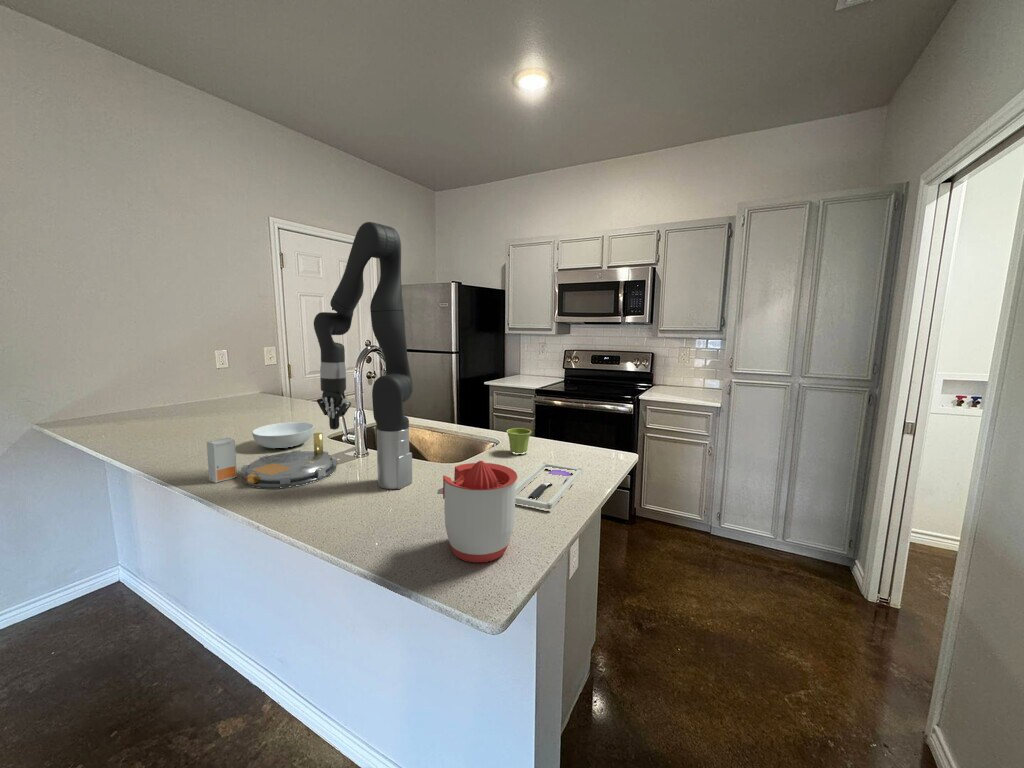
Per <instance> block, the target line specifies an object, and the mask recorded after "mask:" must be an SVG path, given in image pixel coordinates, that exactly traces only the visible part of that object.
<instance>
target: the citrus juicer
mask: <svg viewBox="0 0 1024 768" xmlns="http://www.w3.org/2000/svg"><path fill="white" fill-rule="evenodd" d="M453 474H454V475H453V476H454V480H452V477H450V476H448V475H447V476H446V475H445V474H444V475H443V476H442V481H443V482H442V483H443V484H442V485H443V486H442V487H441V488H439V489H438V490H437V492H436V494H437V495H442V499H443V500H444V512H443V513H444V524H445V531H446V535H447V540H448V543H449V546H450V549H451V550H452V552H453V554H454V556H456V557H457V558H458V559H461V560H463V561H465V562H471V563H489V562H488V561H490V562H492V561H494V560H497V559H498V558H500V557H502V556H503V555H504V554H505V553H506V551H507V548H508V546H509V544H510V541H511V537H512V535H513V531H514V526H515V517H516V516H515V515H516V505H515V494H516V485H517V480H518V474H517V473H516V471H515V470H514V469H513V468H511V467H508V466H506V465H503V464H497V463H489V462H484V461H483V460H479V461H477V462H470V463H464V464H459V465H456V466H454V473H453Z"/></svg>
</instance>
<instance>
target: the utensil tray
mask: <svg viewBox="0 0 1024 768" xmlns="http://www.w3.org/2000/svg"><path fill="white" fill-rule="evenodd" d="M545 467H552V468H559V469H567V470H575V471H576V472H575V473H574V474H573V475H572V474H571V476H569V477H568V479H567V480H566V481H565V482H564V484H563V485H561V487H560V488H559V489H558V491H557V492H555V494H553V496H552V497H551V498H550V500H549V501H548V502H546V501H541V500H538V499H537V500H532V499H528V497H523V496H522V497H521V496H518V495H517V496H515V503H517V504H523V505H528V506H534V507H539V508H545V509H551V508H552V507H553V506H554V505H555V503H556V502H557V501H558V500H559V498H560V497H561V496H562V495H563V493H564V492H565V491H566V490H567V488H568V487H569V486H570V485H571V483H572V482H573V481H574V480H575V478H576V477H577V476H578V475H579V474H580V472H581V471H582V472H583V469H582V468H578V467H572V466H566V465H560V464H554V463H548V462H543V463H541V465H539V466H537V468H535V469H533V470H532V472H530V474H529V475H527V476H526V477H525V478H523V480H521V481H519V483H516V494H517V493H518V492H519V491H520V490H521V489H522V488H523V487H524V486H526V485H527V484H528V483H529V482H530V481H531V480H532V479H533V478H534V477H535V476H536V475H537V474H538V473H539V472H540V471H541V470H543V469H544V468H545ZM516 494H515V495H516Z"/></svg>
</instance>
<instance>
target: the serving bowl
mask: <svg viewBox="0 0 1024 768" xmlns="http://www.w3.org/2000/svg"><path fill="white" fill-rule="evenodd" d="M314 430H315V425H314V424H312V423H309V422H303V421H301V422H300V421H289V422H278V423H271V424H265V425H263V426H259V427H256V428H255V429H253V430H252V432H251V434H252V437H253V439H254V441H255V443H257V444H258V445H259V446H261V447H264V448H268V449H275V448H285V449H289V448H288V447H291V448H294V447H293V446H295V447H297V446H299V445H302V444H304V443H306V442H308V440H310V439H311V437H313V434H314V432H315V431H314Z"/></svg>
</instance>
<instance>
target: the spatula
mask: <svg viewBox="0 0 1024 768" xmlns="http://www.w3.org/2000/svg"><path fill="white" fill-rule="evenodd" d="M548 474H552V475H559V476H560V475H562V476H569V477H570V475H571V474H570V473H569V472H566V471H561V470H552V471H548V473H547V475H548ZM548 485H551V484H550V483H548V482H544V483H541V484H540V485H538V486H537V488H535V489H534V490H533V491H532V492H531V493H530V494H529V495H528V496H527V498H528V499H530V498H532V500H533V499H535V498H537V497H538V496H539V495H540V494H541V493H542V492H543V493H544V491H545V490H546V489H547V488H548V487H547V486H548ZM543 493H542V494H543ZM542 494H541V495H542ZM541 495H540V496H541ZM540 496H539V497H540ZM539 497H538V498H539Z"/></svg>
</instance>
